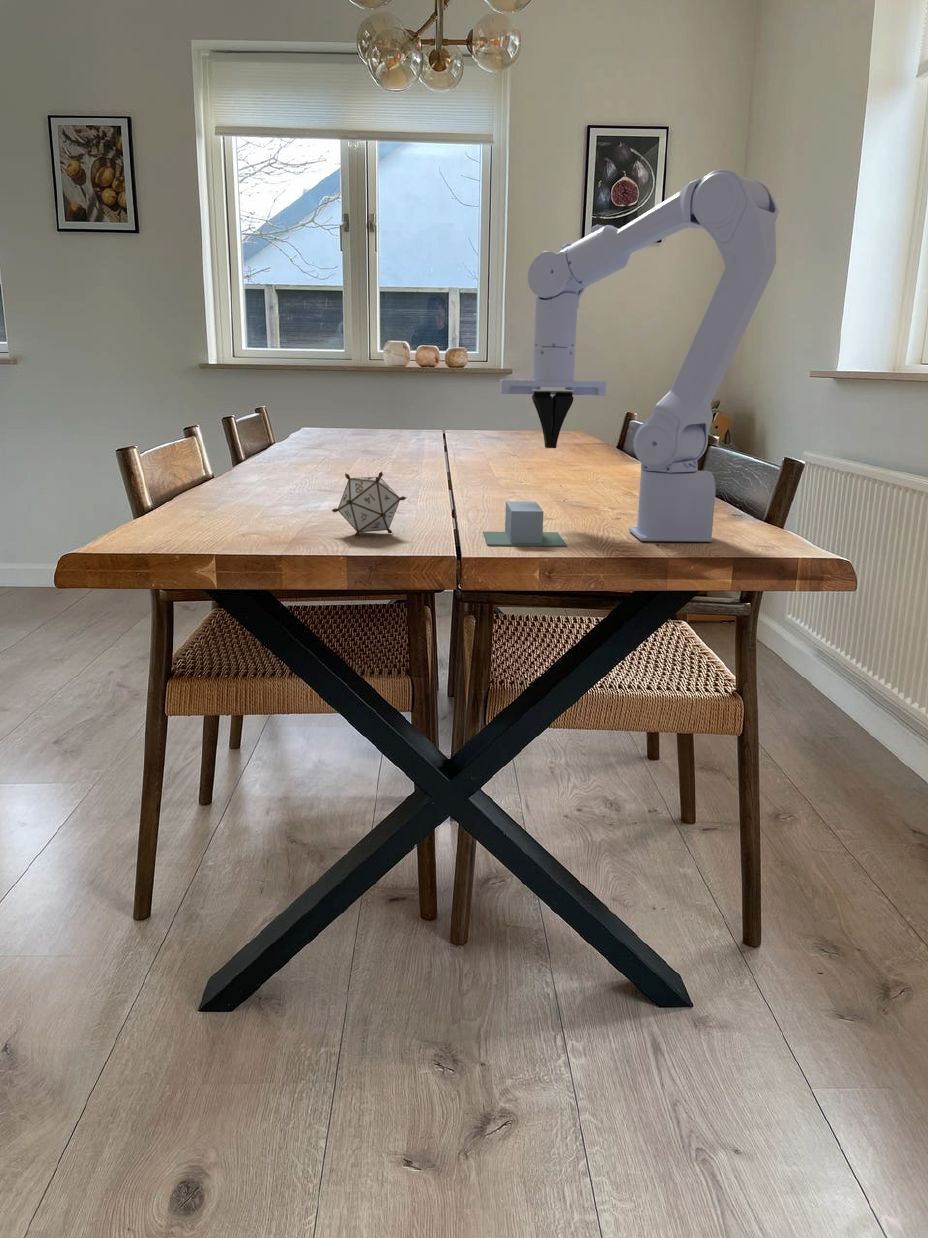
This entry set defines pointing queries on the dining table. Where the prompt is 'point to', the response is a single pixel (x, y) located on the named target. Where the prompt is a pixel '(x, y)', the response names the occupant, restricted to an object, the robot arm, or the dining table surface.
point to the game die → (368, 504)
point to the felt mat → (503, 540)
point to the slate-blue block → (524, 522)
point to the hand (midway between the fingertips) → (550, 447)
